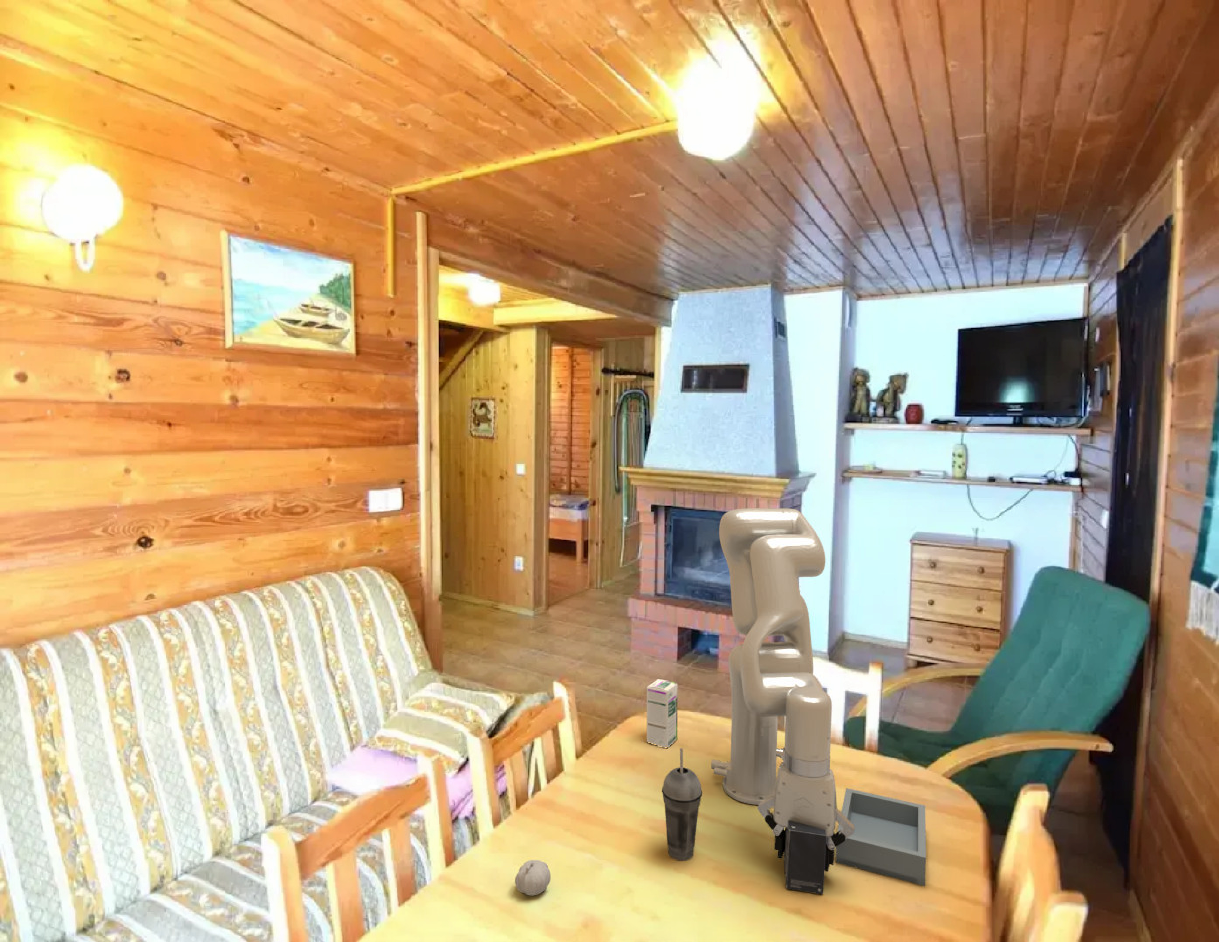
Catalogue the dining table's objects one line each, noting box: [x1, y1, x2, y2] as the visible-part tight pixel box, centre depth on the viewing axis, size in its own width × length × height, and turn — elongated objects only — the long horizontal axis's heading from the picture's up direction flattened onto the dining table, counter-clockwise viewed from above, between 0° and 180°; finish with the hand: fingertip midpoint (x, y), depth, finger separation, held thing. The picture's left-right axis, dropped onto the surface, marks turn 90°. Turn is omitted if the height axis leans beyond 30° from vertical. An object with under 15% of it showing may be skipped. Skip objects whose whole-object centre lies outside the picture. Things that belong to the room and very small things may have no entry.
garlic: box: [514, 859, 551, 896], centre depth 112 cm, size 6×5×5 cm
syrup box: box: [646, 678, 678, 748], centre depth 165 cm, size 6×6×14 cm
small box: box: [783, 820, 826, 895], centre depth 117 cm, size 11×6×10 cm, turn 168°
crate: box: [835, 787, 927, 887], centre depth 125 cm, size 14×17×5 cm
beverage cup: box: [661, 747, 703, 862], centre depth 122 cm, size 7×7×20 cm
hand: (803, 859), depth 117 cm, fingers closed on small box, 7 cm apart
